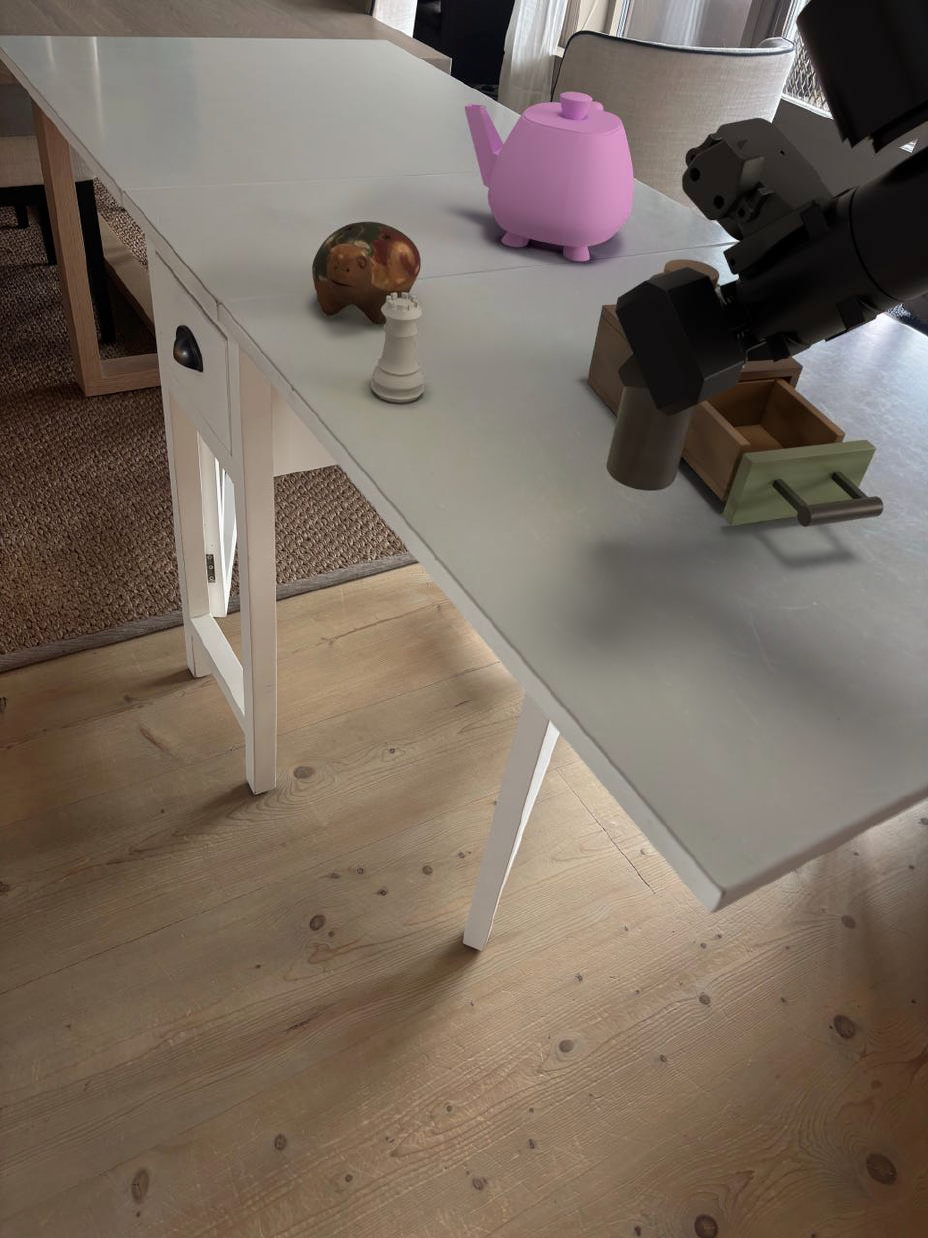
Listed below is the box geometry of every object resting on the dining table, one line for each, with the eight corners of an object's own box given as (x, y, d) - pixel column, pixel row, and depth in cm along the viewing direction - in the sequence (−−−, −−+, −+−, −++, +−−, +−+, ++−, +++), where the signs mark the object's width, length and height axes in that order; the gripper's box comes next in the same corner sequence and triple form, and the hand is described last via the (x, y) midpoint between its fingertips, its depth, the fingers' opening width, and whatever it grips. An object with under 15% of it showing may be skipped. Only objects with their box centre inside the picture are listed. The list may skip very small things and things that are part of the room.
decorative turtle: (294, 334, 84) (289, 242, 80) (339, 282, 96) (337, 199, 92) (399, 346, 84) (401, 254, 79) (432, 292, 96) (435, 209, 91)
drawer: (889, 547, 67) (920, 484, 63) (766, 566, 64) (791, 502, 60) (765, 429, 78) (786, 371, 74) (655, 441, 75) (671, 380, 71)
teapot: (487, 190, 119) (502, 55, 109) (641, 223, 116) (670, 87, 106) (432, 238, 105) (443, 88, 95) (604, 278, 101) (635, 126, 91)
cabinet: (775, 444, 78) (803, 366, 73) (652, 458, 75) (674, 376, 70) (700, 372, 87) (721, 298, 82) (586, 381, 83) (602, 304, 78)
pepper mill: (688, 484, 59) (749, 281, 51) (630, 496, 58) (682, 289, 49) (649, 448, 62) (701, 250, 53) (593, 459, 60) (636, 256, 52)
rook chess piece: (383, 408, 76) (387, 314, 71) (362, 382, 79) (364, 290, 74) (433, 400, 78) (440, 307, 73) (410, 375, 81) (416, 284, 76)
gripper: (915, 57, 48) (686, 213, 60) (701, 92, 37) (479, 271, 50) (993, 265, 49) (752, 374, 62) (807, 355, 38) (564, 464, 51)
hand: (646, 367), depth 56 cm, fingers closed on pepper mill, 4 cm apart
